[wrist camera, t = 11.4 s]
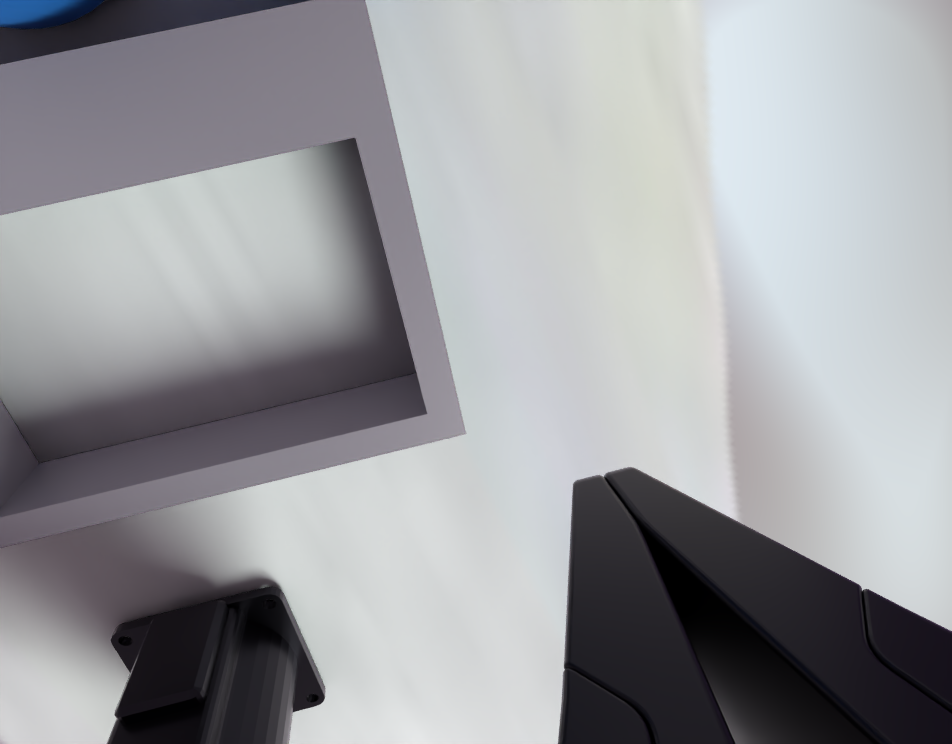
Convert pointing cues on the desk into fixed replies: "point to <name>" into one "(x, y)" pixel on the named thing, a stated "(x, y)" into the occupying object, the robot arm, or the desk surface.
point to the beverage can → (43, 12)
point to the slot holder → (193, 150)
